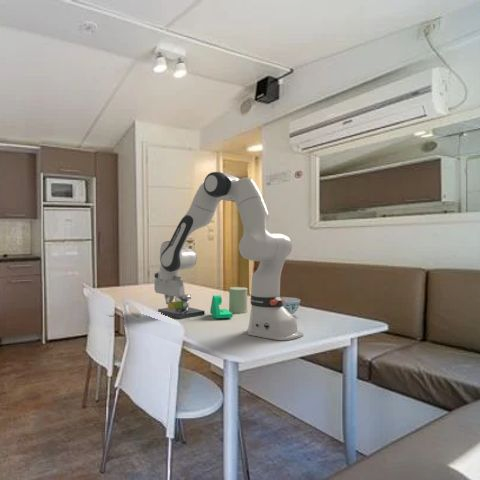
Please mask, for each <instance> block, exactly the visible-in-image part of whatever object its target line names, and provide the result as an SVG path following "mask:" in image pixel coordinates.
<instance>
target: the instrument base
mask: <svg viewBox="0 0 480 480" xmlns="http://www.w3.org/2000/svg"><path fill="white" fill-rule="evenodd" d="M176 301H181V299H179V297H175V296H174V302H176ZM157 312H161V313H163V314H165V315H164V316H166V315H168V316H167V317H170V316H171V318H174V319H179V320H183V319H190V318H195V317H201V316H205V315H206V314H205V310H203V309H199V308H195V307H194V308H193V307H190V306H189V310H188V311H181V308H178V309H171V310H169V309H168V307H163V308H159V309H157ZM163 314H162V315H163Z"/></svg>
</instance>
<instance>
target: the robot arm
mask: <svg viewBox="0 0 480 480" xmlns="http://www.w3.org/2000/svg"><path fill="white" fill-rule="evenodd" d="M222 200H223V201H227V202H232V203H233V202H234V203H235V204H236V207H237V210H238V213H239V216H240V218H241V223H242V227H243V233H242V234H243V235H242V236H241V238H240V240H239V244H238V249H239V253H240V255H241V257H243V259H245V260H249V261H253V262H259V265H258V266H257V269H256V271H254V272H253V274H252V276H251V295H250V305H251V310H250V314H249V315H250V316H249V323H248V326H247V327H248V328H247V330H246V331H247V335H248V336H254V337H259V338H264V339H270V340H275V341H291V340H295V339H298V338H301V337H303V336H304V332H303V331H301V330H298V323H297V319H296V318H295V317H294V315H293V314H290V313H289V312H288V311H287V310H286V309H285V307H284V306H283V302H285V301H283V300H285V299H282V298H281V297H282V296H281V295H280V294H281V276H282V272H283V271H282V270H283V268H284V264H285V261H286V259H287V258H288V256H289V255H290V254H291V252H292V248H293V243H292V241H291V239H290V238H289V237H288V236H287V235H286V234H283V233H280V232H269V231H268V228H267V222H268V220H269V219H270V218H269V217H270V213H269V211H268V208H267V205H266V203H265V200H264V198H263V194H262V192H261V191H260V189H259V187H258V185H257V183H256V182H255V181H254V179H252V178H251V177H242V178H241V177H239V176H238V177H237V176H235V175H232V174H231V173H227V172H226V173H225V172H221V171H212V172H210V173H208V174H207V175H206V177H205V178H204V180H203V183H201V185H199V187H198V189H197V191H196V193H195V195H194V197H193V199H192V200H191V204H190V207H189V208H188V210H187V212H186V213H185V214H184V216H183V217H182V218H181V220H180V221H179V223H178V225H177V226H176V229H175V230H174V232H173V234H172V237H171V239H170V240H167V241H164V242H162V243H161V245H160V251H159V262H160V266H159V271H158V272H157V271H156V272H155V273H154V274H153V277H154V292H155V293H156V294H161V295H163V296H164V299H165V304H166V305H168V302H174V300H175V297H183V296H184V294H186V293H185V283H184V279H183V278H182V277H181V276H180V273H179V272H180V271H181V270H187V269H188V270H189V269H191V268H193V267H194V266H195V265H196V263H197V254H196V252H195V250H193V249H192V248H189V247H186V246H185V244H186V242H187V240H188V238H189V237H190V235H191V234H192V233H193V232H195V231H197V230H198V229H201V228H204V227H206V226H208V225H209V224H210V223H211V221H212V220H213V217H214V216H215V212H216V211H217V207H218V205H219V203H220V202H221V201H222Z"/></svg>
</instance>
